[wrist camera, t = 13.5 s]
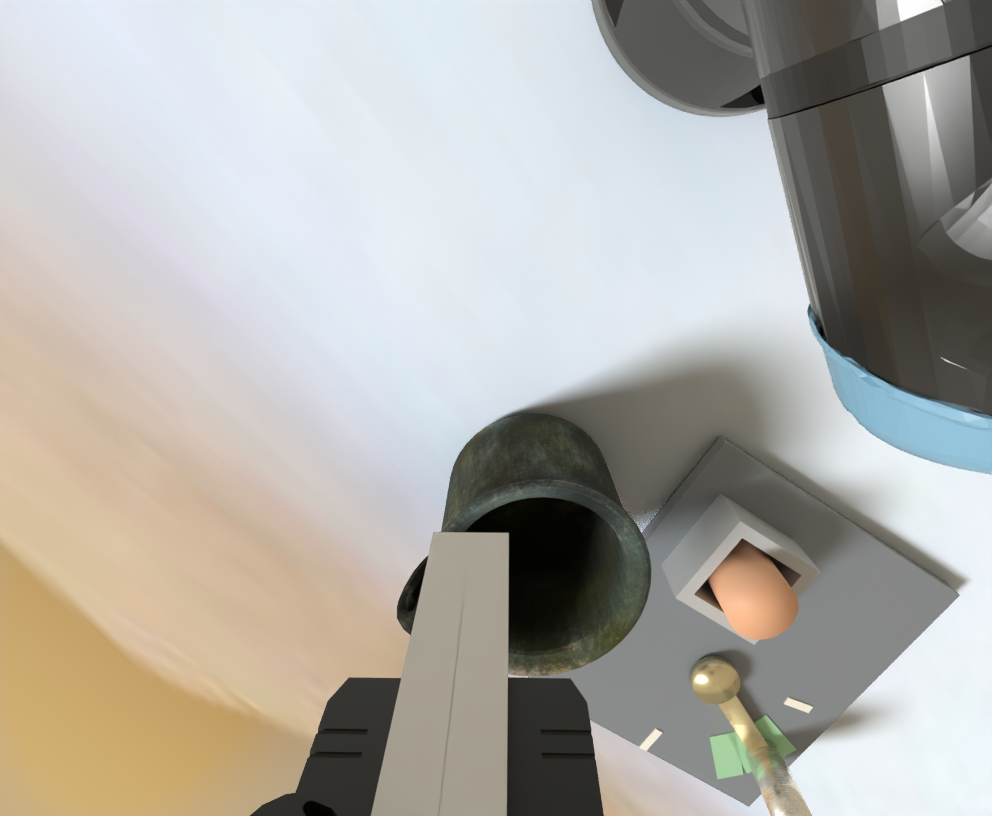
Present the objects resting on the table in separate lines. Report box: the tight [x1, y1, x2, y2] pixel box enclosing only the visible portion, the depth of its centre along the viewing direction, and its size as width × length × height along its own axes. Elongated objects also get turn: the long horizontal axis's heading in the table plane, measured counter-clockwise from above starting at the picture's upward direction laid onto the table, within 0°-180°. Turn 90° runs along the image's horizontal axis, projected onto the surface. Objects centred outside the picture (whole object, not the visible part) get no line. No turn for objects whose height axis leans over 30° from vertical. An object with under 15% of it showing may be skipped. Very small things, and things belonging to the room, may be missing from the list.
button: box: [707, 538, 799, 640], centre depth 41 cm, size 4×4×5 cm
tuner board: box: [528, 436, 960, 806], centre depth 46 cm, size 22×20×5 cm
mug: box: [397, 414, 652, 676], centre depth 39 cm, size 11×15×12 cm
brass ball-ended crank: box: [689, 656, 812, 816], centre depth 46 cm, size 11×3×6 cm, turn 32°
